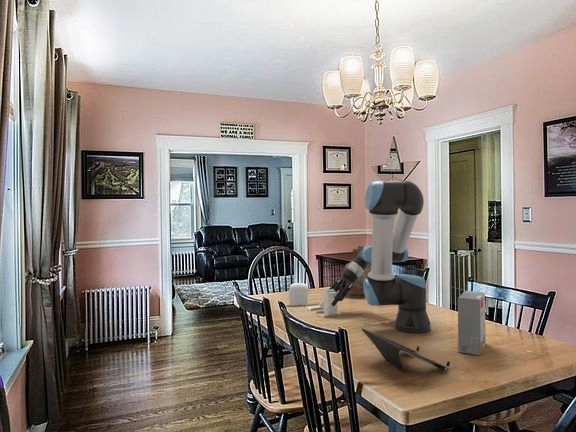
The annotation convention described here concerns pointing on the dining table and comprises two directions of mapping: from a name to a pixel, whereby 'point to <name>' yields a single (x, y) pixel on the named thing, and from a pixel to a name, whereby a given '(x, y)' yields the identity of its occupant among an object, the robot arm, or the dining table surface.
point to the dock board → (321, 313)
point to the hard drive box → (471, 322)
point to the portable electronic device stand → (397, 351)
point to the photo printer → (298, 294)
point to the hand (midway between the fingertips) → (323, 308)
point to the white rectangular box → (327, 297)
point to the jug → (358, 285)
